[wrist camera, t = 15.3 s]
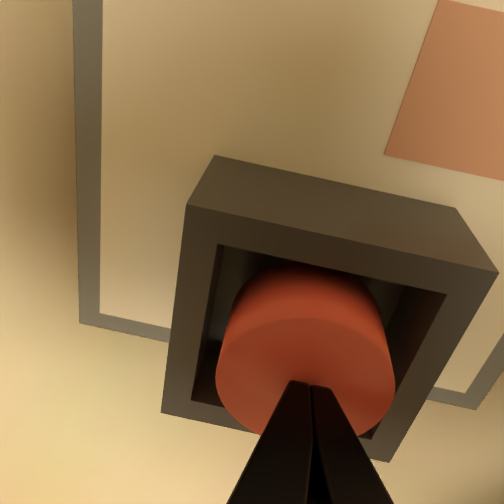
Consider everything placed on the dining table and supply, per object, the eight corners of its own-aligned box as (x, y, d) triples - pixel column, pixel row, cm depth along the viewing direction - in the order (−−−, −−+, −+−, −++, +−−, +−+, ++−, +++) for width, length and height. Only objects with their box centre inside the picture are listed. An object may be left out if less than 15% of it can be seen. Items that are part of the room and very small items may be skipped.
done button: (403, 280, 10) (424, 342, 8) (354, 391, 12) (362, 460, 10) (244, 245, 10) (230, 299, 8) (220, 361, 12) (204, 425, 10)
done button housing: (454, 206, 11) (499, 272, 8) (374, 376, 14) (389, 462, 11) (215, 153, 11) (186, 203, 8) (187, 335, 14) (160, 412, 11)
